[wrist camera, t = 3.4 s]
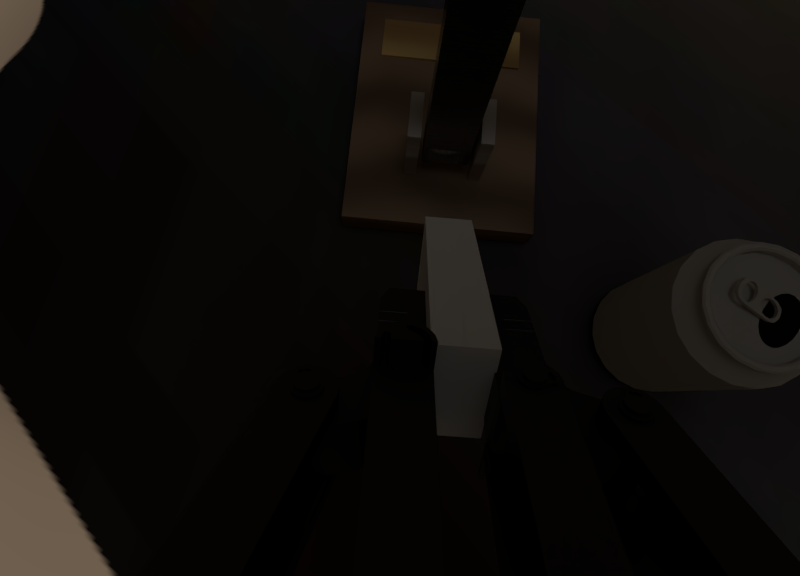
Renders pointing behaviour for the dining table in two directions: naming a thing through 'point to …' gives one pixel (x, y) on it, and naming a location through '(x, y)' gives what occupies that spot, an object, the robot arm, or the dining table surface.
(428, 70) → the press base
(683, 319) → the can
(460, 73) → the lever
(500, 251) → the dining table surface
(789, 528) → the dining table surface
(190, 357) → the dining table surface
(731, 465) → the dining table surface
